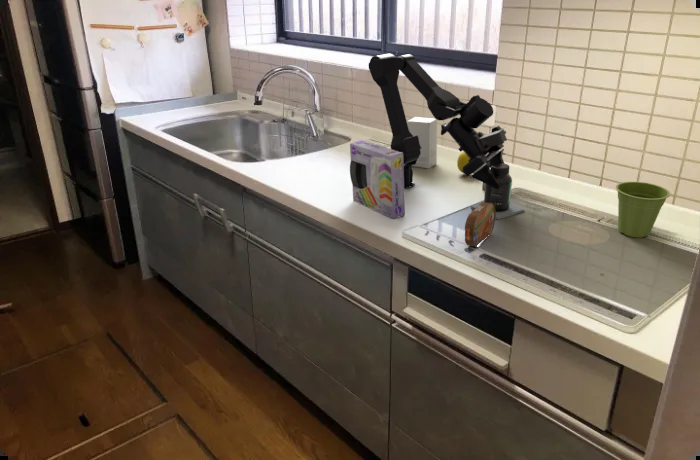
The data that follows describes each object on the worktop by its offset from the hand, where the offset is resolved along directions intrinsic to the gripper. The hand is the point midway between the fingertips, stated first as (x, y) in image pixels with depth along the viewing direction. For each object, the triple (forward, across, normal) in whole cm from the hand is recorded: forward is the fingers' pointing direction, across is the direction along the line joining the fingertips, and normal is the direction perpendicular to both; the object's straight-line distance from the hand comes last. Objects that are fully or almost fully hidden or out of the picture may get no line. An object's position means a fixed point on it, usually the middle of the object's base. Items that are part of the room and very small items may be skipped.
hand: (503, 182), depth 156 cm
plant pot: (+29, 0, -18) cm, 34 cm away
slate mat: (+5, 0, +6) cm, 8 cm away
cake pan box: (-16, -13, +28) cm, 35 cm away
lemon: (-7, +25, +19) cm, 32 cm away
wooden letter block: (+1, +15, +10) cm, 18 cm away
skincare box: (-19, +28, +31) cm, 45 cm away
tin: (+6, -21, +6) cm, 22 cm away
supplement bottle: (+4, 0, +6) cm, 8 cm away
